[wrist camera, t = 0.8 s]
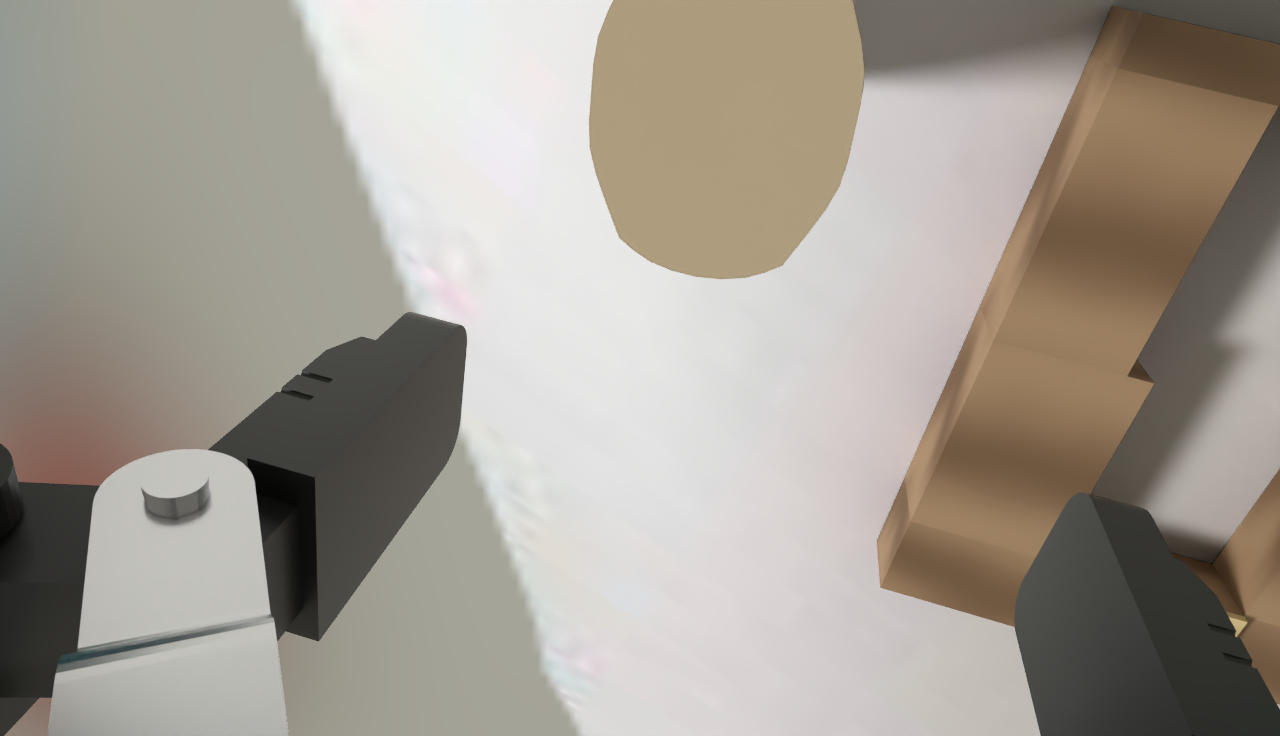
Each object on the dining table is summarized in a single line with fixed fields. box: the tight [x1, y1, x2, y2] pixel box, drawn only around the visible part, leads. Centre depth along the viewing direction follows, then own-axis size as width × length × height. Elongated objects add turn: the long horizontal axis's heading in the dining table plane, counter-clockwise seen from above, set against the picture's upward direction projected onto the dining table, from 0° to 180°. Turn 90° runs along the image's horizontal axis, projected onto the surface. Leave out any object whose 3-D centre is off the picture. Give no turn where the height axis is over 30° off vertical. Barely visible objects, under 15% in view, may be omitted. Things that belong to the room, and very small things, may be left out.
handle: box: [589, 0, 864, 279], centre depth 22 cm, size 5×6×15 cm
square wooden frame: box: [877, 6, 1280, 704], centre depth 29 cm, size 22×18×3 cm
